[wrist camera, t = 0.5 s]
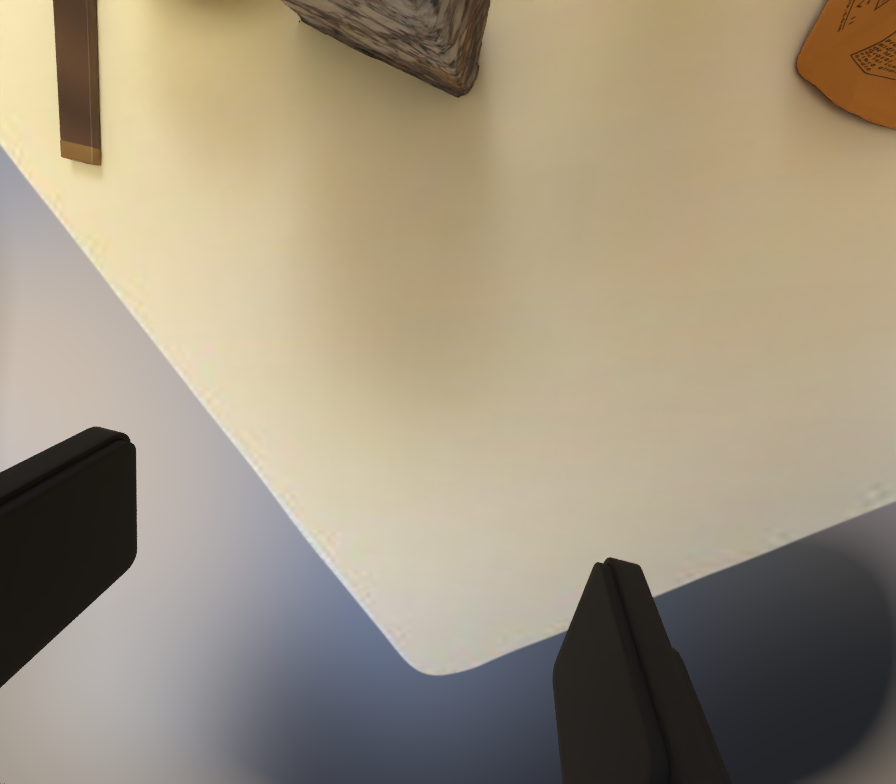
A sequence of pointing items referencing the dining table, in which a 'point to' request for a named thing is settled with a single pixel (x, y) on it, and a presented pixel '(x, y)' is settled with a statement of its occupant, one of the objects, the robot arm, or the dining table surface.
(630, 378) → the dining table surface
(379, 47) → the stone block
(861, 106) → the coffee package
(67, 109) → the walnut straight-edge
